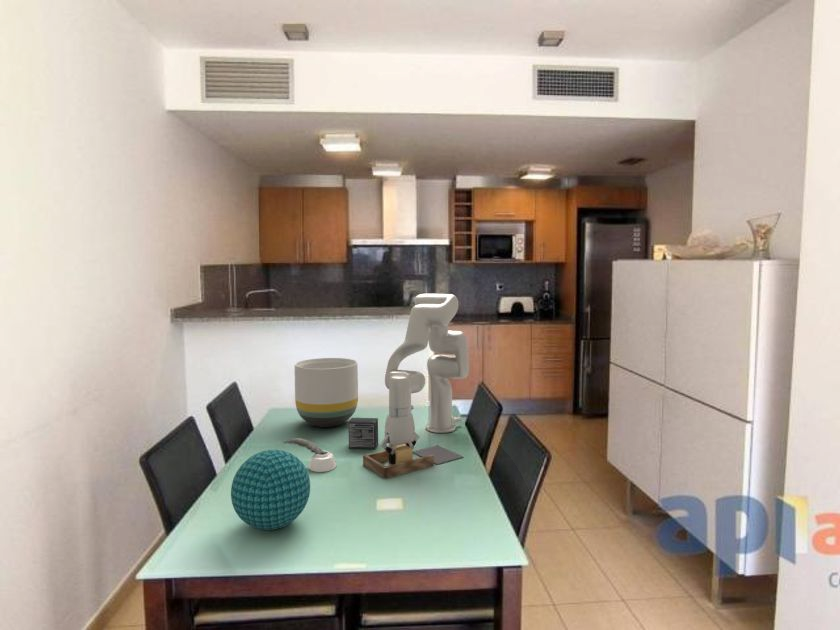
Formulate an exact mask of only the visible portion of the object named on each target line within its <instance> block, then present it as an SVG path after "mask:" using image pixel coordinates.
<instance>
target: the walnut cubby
mask: <svg viewBox="0 0 840 630" xmlns="http://www.w3.org/2000/svg"><path fill="white" fill-rule="evenodd" d="M387 461H388V462H389V460H388V452H387V451H386V450H385V449H384V450H379V451H375V452H371V453H367V454H366V453H365V454H363V455H362V465H363V466H364V467H365V468H367V469H368V468H369V470H370V471H372V472H373V473H375V474H377V475H378V476H380V477H381V478H383V479H384V480H385V479H390V478H394V477H396V476H400V475H403V474H407V473H411V472H416V471H418V470H422V469H425V468H430V467H434V465H435V464H434V455H428V456H424V457H420V456H419V457H417V458H413V459H412V460H409V461H405V462H401V463H397V464H393V465H389V464H388V465H385V464H383V463H384V462H387ZM382 462H383V463H382Z"/></svg>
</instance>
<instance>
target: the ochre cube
mask: <svg viewBox="0 0 840 630" xmlns="http://www.w3.org/2000/svg"><path fill="white" fill-rule="evenodd" d="M391 449H392V448H391ZM413 451H414V449H412V448H410V447H408V446H406V444H402V445H397V446H396V448H395V452H394V454H395V464H397V463H401V462H405V461H409V460H412V459H414V458H413V454H414V453H413ZM388 461H389V453H388ZM389 465H391V464H390V463H389V462H388V466H389Z"/></svg>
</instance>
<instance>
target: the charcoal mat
mask: <svg viewBox="0 0 840 630" xmlns="http://www.w3.org/2000/svg"><path fill="white" fill-rule="evenodd" d="M413 454H414V455H416V456H418V457H419V458H420V457H424V456H428V455H434V465H436V466H437V465H438V464H439V465H441V463H442V464H445V462H446V463H449V462H452V460H453V461H456V459H457V460H460V459H464V456H463V455H460V454H459V453H456V452H454V451H452V450H450V449H447V448H445V447H443V446H441V445H438V444H437V445H433V446H429V447H425V448H420V449H417V450H413ZM459 458H460V459H459ZM448 461H449V462H448Z"/></svg>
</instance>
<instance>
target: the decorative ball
mask: <svg viewBox="0 0 840 630" xmlns="http://www.w3.org/2000/svg"><path fill="white" fill-rule="evenodd" d="M310 480H311V479H310V475H309V472H308V470H307V467H306V466H305V465H304V463H303V462H302V461H301V460H300V459H299V458H298V456H296V455H294V454H292V453H290V452H289V451H285V450H282V449H267V450H263V451H262V450H261V451H260V452H257V453H255V454H252V455H251V456H250V457H248V458H247V459H245V461H244V462H243V463H242V464H241V465H240V466H239V468H238V469H237V471H236V472H235V474H234V477H233V480H232V481H231V482H232V483H231V488H230V498H231V499H230V500H231V504H232V507H233V509H234V511H235V513H236V516H238V517H239V519H240V520H241V521H243V522H244V523H245V524H246V525H247V526H250V527H252V528H254V529H257V530H260V531H261V530H262V531H273V530H278V529H280V528H283V527H285V526H288V525H289V524H290V523H293V521H294V520H296V519H297V518H298V517H299V516H300V515H301V514H302V512H304V509H305V508H306V506H307V503H308V502H309V497H310V494H311V481H310Z"/></svg>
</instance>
